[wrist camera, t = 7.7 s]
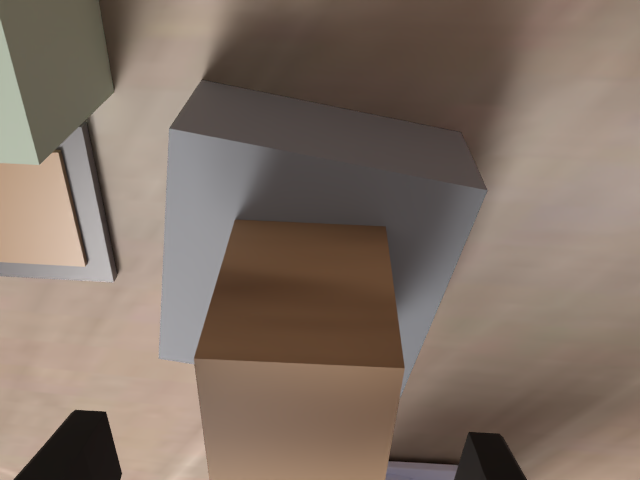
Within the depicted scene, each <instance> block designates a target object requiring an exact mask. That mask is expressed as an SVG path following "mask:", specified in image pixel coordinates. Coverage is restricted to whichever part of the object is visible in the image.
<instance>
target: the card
mask: <svg viewBox="0 0 640 480" xmlns="http://www.w3.org/2000/svg"><path fill="white" fill-rule="evenodd" d="M0 276H8V277H26V278H44V279H62V280H80V281H98V282H114V281H115V279H116V277H117V271H116V266H115V261H114V256H113V251H112V246H111V241H110V236H109V232H108V227H107V222H106V217H105V212H104V207H103V202H102V197H101V192H100V187H99V182H98V177H97V172H96V167H95V162H94V157H93V152H92V147H91V142H90V137H89V132H88V127H87V122H83V123H82V124H81V125H80V126H79V127H78V128H77V129H76V130H75V131H74V132H73V133H72V134H71V135H70V136H69V137H68V138H67V139H66V140H65V141H64V142H63V143H61V144H60V145H59V146H58V147H57V148H56V149H55V150H54V151H53V152H52V153H51V154H50V155H49V156H48V157H47V158H46V159H45V160H44V161H43V162H42V163H41V164H40V165H29V164H10V163H0Z"/></svg>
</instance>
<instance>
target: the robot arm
mask: <svg viewBox="0 0 640 480" xmlns="http://www.w3.org/2000/svg"><path fill="white" fill-rule="evenodd" d="M121 475H122V472H121V468H120V464H119V460H118V456H117V453H116V449H115V445H114V441H113V437H112V433H111V429H110V425H109V422H108V418H107V414H106V412H102V411H84V410H75V411H74V412H72V413H71V414H70V415H69V416H68V417H67V419H66V420H65V421H64V422H63V423H62V425H61V426H60V427H59V428H58V429H57V430H56V432H55V433H54V434H53V435H52V436H51V437H50V439H49V440H48V441H47V442H46V443H45V444H44V446H43V447H42V448H41V449H40V450H39V451H38V452H37V454H36V455H35V456H34V457H33V458H32V459H31V460H30V462H29V463H28V464H27V465H26V466H25V467H24V468H23V469H22V471H21V472H20V473H19V474H18V475H17V476H16V477H15V478H14V480H120V479H121ZM385 480H527V479H526V477H525V475H524V474H523V472H522V470H521V468H520V467H519V465H518V463H517V461H516V460H515V458H514V456H513V454H512V452H511V451H510V449H509V447H508V445H507V443H506V442H505V440H504V438H503V437H502V436H501V435H500V434H494V433H476V432H469V433H468V436H467V439H466V442H465V446H464V449H463V452H462V455H461V459H460V462H459V465H449V464H431V463H413V462H395V461H388V467H387V472H386V478H385Z"/></svg>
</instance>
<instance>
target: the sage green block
mask: <svg viewBox="0 0 640 480" xmlns="http://www.w3.org/2000/svg"><path fill="white" fill-rule="evenodd" d="M113 93H114V88H113V82H112V76H111V70H110V64H109V58H108V52H107V46H106V40H105V34H104V29H103V23H102V17H101V11H100V5H99V0H0V163H10V164H29V165H40V164H41V163H42V162H43V161H44V160H45V159H46V158H47V157H48V156H49V155H50V154H51V153H52V152H53V151H54V150H55V149H56V148H57V147H58V146H59V145H60V144H61V143H63V142H64V141H65V140H66V139H67V138H68V137H69V136H70V135H71V134H72V133H73V132H74V131H75V130H76V129H77V128H78V127H79V126H80V125H81V124H82V123H83V122H84V121H85V120H86V119H87V118H88V117H89V116H90V115H91V114H92V113H93V112H94V111H95V110H96V109H97V108H98V107H99V106H100V105H101V104H102V103H103V102H104V101H106V100H107V99H108V98H109V97H110V96H111V95H112V94H113Z"/></svg>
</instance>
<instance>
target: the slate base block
mask: <svg viewBox="0 0 640 480" xmlns="http://www.w3.org/2000/svg"><path fill="white" fill-rule="evenodd" d="M487 191H488V190H487V188H486V186H485V184H484V181H483V179H482V177H481V175H480V173H479V170H478V168H477V166H476V164H475V162H474V160H473V157H472V155H471V153H470V151H469V149H468V146H467V144H466V142H465V140H464V138H463V135H462V133H461V132H457V131H452V130H447V129H442V128H437V127H432V126H427V125H422V124H417V123H412V122H407V121H403V120H398V119H393V118H388V117H383V116H378V115H373V114H368V113H363V112H358V111H353V110H348V109H343V108H338V107H333V106H328V105H324V104H319V103H314V102H309V101H304V100H299V99H294V98H289V97H284V96H279V95H274V94H269V93H264V92H259V91H254V90H249V89H245V88H240V87H235V86H230V85H225V84H220V83H215V82H210V81H205V80H201V82H200V83H199V85H198V86H197V88H196V89H195V91H194V92H193V94H192V95H191V97H190V98H189V100H188V101H187V103H186V104H185V106H184V107H183V109H182V110H181V112H180V113H179V115H178V116H177V118H176V119H175V121H174V122H173V123H172V125H171V126H170V128H169V144H168V166H167V188H166V210H165V232H164V254H163V276H162V298H161V320H160V342H159V359H164V360H171V361H177V362H183V363H189V364H194V356H195V353H196V349H197V346H198V342H199V339H200V336H201V332H202V329H203V326H204V322H205V319H206V315H207V312H208V309H209V305H210V302H211V298H212V295H213V292H214V288H215V285H216V282H217V278H218V275H219V271H220V268H221V265H222V261H223V258H224V255H225V251H226V248H227V244H228V241H229V238H230V234H231V231H232V228H233V224H234V221H235V220H257V221H279V222H300V223H322V224H344V225H366V226H386V232H387V239H388V247H389V254H390V262H391V269H392V277H393V284H394V292H395V299H396V307H397V314H398V321H399V329H400V336H401V344H402V351H403V359H404V366H405V370H404V376H403V381H402V387H401V393H400V397H401V395H402V392H403V390H404V388H405V385H406V383H407V380H408V378H409V376H410V373H411V371H412V369H413V366H414V364H415V361H416V359H417V357H418V354H419V352H420V350H421V347H422V345H423V342H424V340H425V338H426V335H427V333H428V331H429V328H430V326H431V324H432V321H433V319H434V316H435V314H436V312H437V309H438V307H439V305H440V302H441V300H442V297H443V295H444V293H445V290H446V288H447V286H448V283H449V281H450V278H451V276H452V274H453V271H454V269H455V267H456V264H457V262H458V259H459V257H460V255H461V252H462V250H463V248H464V245H465V243H466V240H467V238H468V236H469V233H470V231H471V229H472V226H473V224H474V221H475V219H476V217H477V214H478V212H479V210H480V207H481V205H482V202H483V200H484V198H485V195H486V193H487Z"/></svg>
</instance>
